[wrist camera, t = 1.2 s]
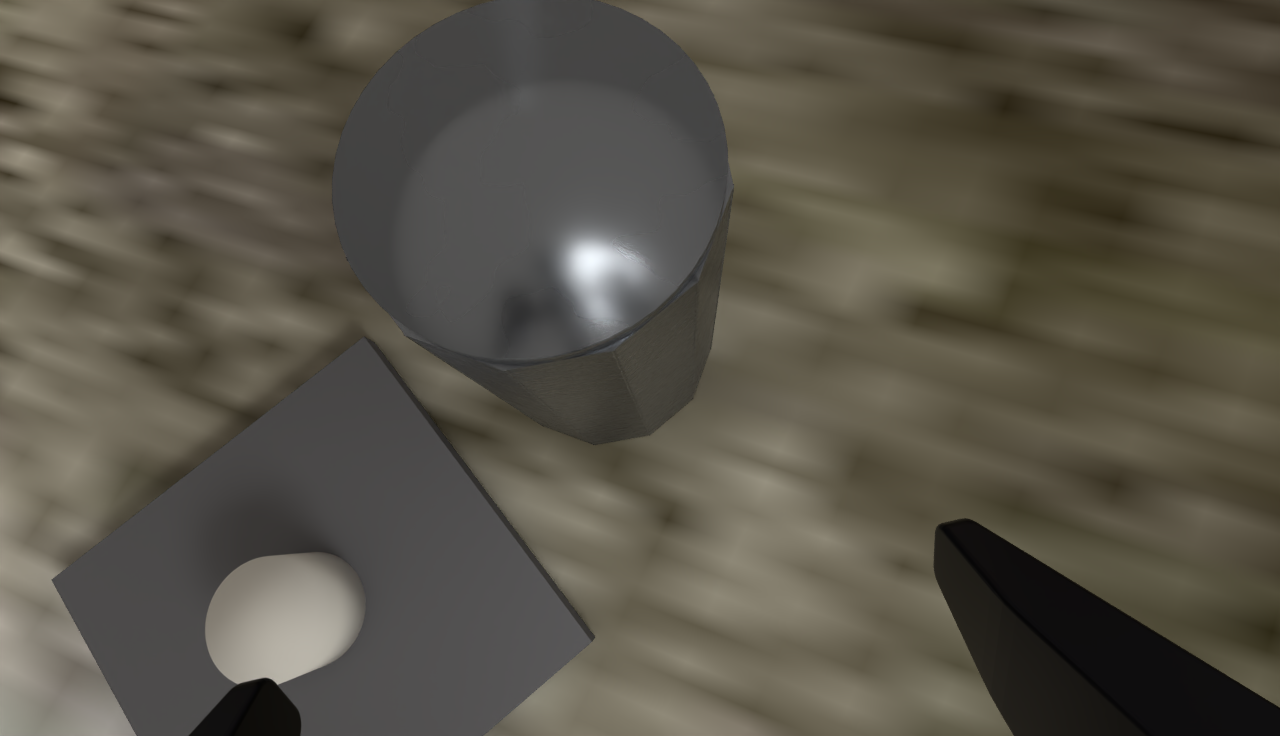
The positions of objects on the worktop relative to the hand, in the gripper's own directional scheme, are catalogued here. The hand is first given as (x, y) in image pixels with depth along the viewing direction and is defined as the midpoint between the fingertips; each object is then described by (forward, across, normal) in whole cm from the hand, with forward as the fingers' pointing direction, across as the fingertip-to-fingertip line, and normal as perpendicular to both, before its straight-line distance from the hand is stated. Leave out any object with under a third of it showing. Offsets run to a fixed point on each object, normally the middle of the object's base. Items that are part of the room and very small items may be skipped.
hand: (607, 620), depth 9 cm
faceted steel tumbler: (+15, 0, +4) cm, 15 cm away
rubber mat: (+10, +11, +9) cm, 17 cm away
